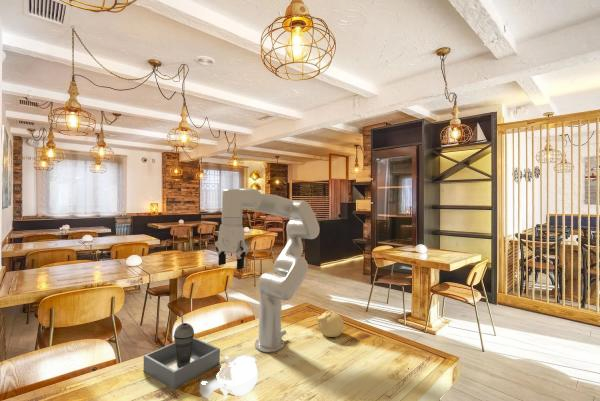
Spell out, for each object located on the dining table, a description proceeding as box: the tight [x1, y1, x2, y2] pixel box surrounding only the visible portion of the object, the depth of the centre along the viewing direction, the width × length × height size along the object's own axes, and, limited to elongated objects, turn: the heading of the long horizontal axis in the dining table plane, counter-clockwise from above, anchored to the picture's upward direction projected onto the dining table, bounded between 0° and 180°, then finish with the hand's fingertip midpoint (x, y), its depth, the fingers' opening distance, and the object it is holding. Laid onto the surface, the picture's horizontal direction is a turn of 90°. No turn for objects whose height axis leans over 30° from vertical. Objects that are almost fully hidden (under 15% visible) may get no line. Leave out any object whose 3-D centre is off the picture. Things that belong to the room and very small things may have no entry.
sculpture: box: [316, 310, 345, 338], centre depth 151 cm, size 12×12×11 cm
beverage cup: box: [173, 311, 195, 368], centre depth 119 cm, size 7×7×20 cm
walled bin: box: [143, 336, 221, 391], centre depth 119 cm, size 20×18×6 cm
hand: (231, 266), depth 120 cm, fingers open, 9 cm apart
